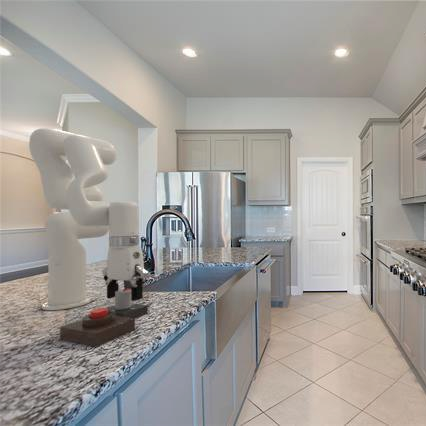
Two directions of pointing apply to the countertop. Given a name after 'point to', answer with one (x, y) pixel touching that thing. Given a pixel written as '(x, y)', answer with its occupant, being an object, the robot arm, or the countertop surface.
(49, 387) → the countertop surface
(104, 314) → the power button
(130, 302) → the dial
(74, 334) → the power button base
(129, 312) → the knob
